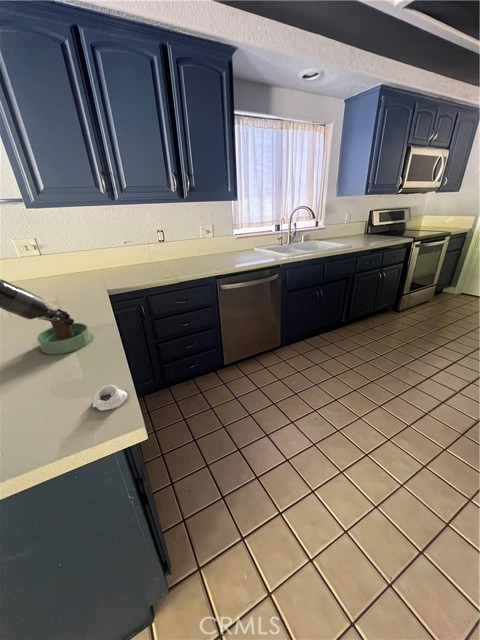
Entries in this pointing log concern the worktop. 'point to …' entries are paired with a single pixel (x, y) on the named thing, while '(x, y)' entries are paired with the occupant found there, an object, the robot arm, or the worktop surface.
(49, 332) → the bowl
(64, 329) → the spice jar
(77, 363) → the worktop surface
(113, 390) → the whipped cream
